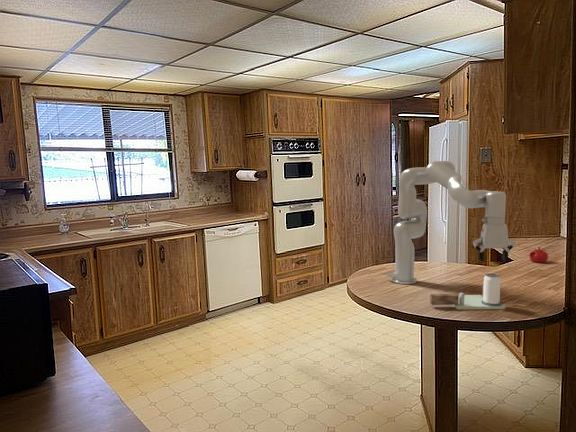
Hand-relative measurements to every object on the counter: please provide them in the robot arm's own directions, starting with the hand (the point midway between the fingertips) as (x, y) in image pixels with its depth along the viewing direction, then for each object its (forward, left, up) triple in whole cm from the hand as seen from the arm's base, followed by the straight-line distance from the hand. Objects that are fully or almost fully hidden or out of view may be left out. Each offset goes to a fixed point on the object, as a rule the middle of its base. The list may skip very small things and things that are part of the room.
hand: (492, 260), depth 185 cm
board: (-6, +4, -20) cm, 21 cm away
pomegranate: (+61, +79, -20) cm, 102 cm away
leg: (-20, -1, -18) cm, 27 cm away
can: (0, 0, -18) cm, 18 cm away
